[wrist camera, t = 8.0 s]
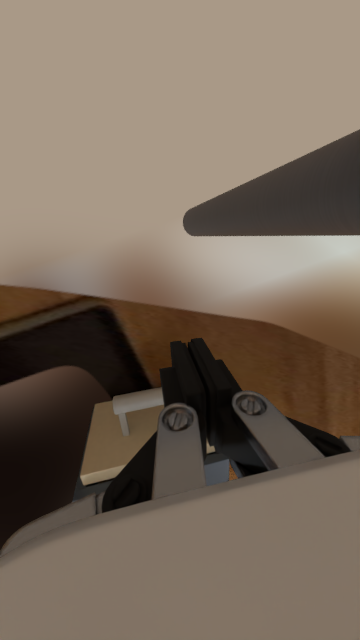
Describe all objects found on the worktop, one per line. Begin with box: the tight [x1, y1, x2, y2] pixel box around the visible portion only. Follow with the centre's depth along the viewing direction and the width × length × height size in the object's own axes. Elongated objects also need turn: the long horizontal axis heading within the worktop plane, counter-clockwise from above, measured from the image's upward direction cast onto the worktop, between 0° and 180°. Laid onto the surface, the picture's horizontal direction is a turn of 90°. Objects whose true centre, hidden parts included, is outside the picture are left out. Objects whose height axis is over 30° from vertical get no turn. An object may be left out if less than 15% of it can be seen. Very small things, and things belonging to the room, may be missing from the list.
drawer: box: [80, 387, 215, 485], centre depth 23 cm, size 18×11×8 cm, turn 4°
